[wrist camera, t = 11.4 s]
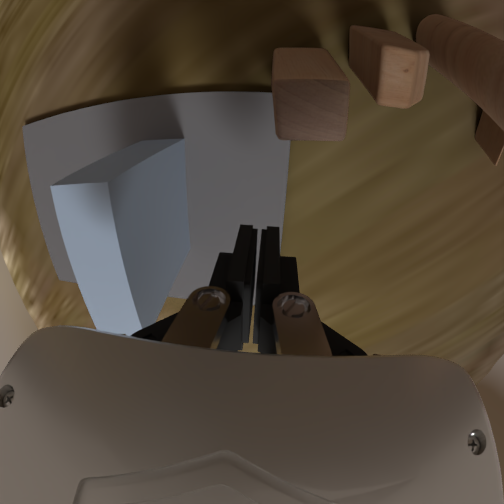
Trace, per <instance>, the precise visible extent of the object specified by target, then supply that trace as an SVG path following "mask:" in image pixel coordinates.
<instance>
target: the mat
mask: <svg viewBox="0 0 504 504" xmlns="http://www.w3.org/2000/svg"><path fill="white" fill-rule="evenodd" d="M23 137H24V146H25V153H26V160H27V167H28V172H29V178H30V183H31V188H32V193H33V197H34V201H35V206H36V210H37V214H38V217H39V221H40V225H41V228H42V232H43V235H44V238H45V241H46V245H47V248H48V251H49V254H50V257H51V259H52V262H53V265H54V268H55V270H56V273H57V276H58V278H59V280H63V281H68V282H74V283H77V280H76V277H75V275H74V272H73V269H72V266H71V263H70V260H69V257H68V254H67V251H66V247H65V244H64V241H63V237H62V234H61V230H60V226H59V222H58V219H57V214H56V210H55V206H54V202H53V197H52V192H51V187H50V186H51V185H53V184H54V183H56V182H58V181H60V180H61V179H63V178H65V177H67V176H69V175H70V174H72V173H74V172H76V171H78V170H80V169H82V168H84V167H86V166H88V165H90V164H92V163H94V162H96V161H98V160H100V159H102V158H104V157H106V156H108V155H110V154H112V153H115V152H117V151H119V150H121V149H124V148H126V147H128V146H131V145H133V144H135V143H138V142H140V141H144V140H161V139H185V168H186V190H187V208H188V223H189V236H190V250H189V252H188V254H187V256H186V258H185V260H184V262H183V265H182V267H181V269H180V271H179V273H178V275H177V277H176V279H175V281H174V283H173V285H172V287H171V289H170V292H169V294H168V296H167V297H176V298H184V299H187V298H188V297H189V295H190V294H191V293H192V292H193V291H194V290H196V289H198V288H201V287H205V286H209V283H210V280H211V277H212V274H213V271H214V267H215V264H216V261H217V258H218V255H219V253H220V252H226V253H233V251H234V247H235V243H236V239H237V235H238V231H239V228H240V224H243V225H253V228H254V229H258V235H257V255H256V274H255V288H254V297H253V305H255V296H256V281H257V271H258V261H259V251H260V241H261V231H262V229H267V226H274V227H279V230H280V250H281V240H282V230H283V220H284V210H285V199H286V188H287V176H288V164H289V152H290V140H280V139H278V137H277V135H276V133H275V120H274V108H273V96H272V93H266V92H195V93H179V94H168V95H158V96H149V97H142V98H134V99H128V100H122V101H116V102H111V103H105V104H100V105H96V106H91V107H87V108H82V109H78V110H74V111H70V112H67V113H63V114H59V115H56V116H52V117H49V118H46V119H43V120H40V121H37V122H34V123H31V124H28V125H25V126H23Z"/></svg>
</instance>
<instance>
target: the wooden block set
mask: <svg viewBox="0 0 504 504" xmlns="http://www.w3.org/2000/svg"><path fill="white" fill-rule="evenodd" d="M428 64H429V65H430V66H431V67H432V68H434V69H435V70H436V71H438V72H439V73H440V74H442V75H443V76H444V77H446V78H447V79H448V80H449V81H451V82H452V83H453V84H454V85H456V86H457V87H458V88H459V89H460V90H462V91H463V92H464V93H465V94H466V95H467V96H469V97H470V98H471V99H472V100H473V101H474V102H475V103H476V104H477V105H478V106H479V107H481V108H482V109H483V112H482V115H481V118H480V121H479V124H478V127H477V130H476V133H475V140H476V141H477V143H478V144H479V145H480V146H481V148H482V149H483V150H484V151H485V153H486V154H487V155H488V157H489V158H490V160H491V161H492V162H493V164H494V165H495V166H496V165H497V163H498V160H499V158H500V156H501V154H502V151H503V149H504V41H502V40H500V39H498V38H496V37H494V36H492V35H490V34H488V33H486V32H484V31H482V30H480V29H477V28H475V27H473V26H470V25H468V24H465V23H463V22H460V21H458V20H455V19H452V18H449V17H446V16H443V15H438V14H433V15H428V16H427V17H426V18H424V19H423V20H422V21H421V22H420V24H419V26H418V28H417V32H416V42H414V41H412V40H410V39H408V38H406V37H404V36H402V35H400V34H398V33H396V32H393V31H388V30H383V29H377V28H371V27H365V26H357V25H352V26H351V27H350V42H349V66H350V68H351V70H352V71H353V72H354V73H355V75H356V76H357V77H358V78H359V80H360V81H361V82H362V84H363V85H364V86H365V88H366V89H367V90H368V92H369V93H370V94H371V96H372V97H373V99H374V100H375V101H376V103H377V104H379V105H382V106H389V107H397V108H403V109H405V108H409V107H411V106H412V105H414V104H416V103H418V102H419V101H421V99H422V98H423V93H424V87H425V82H426V76H427V70H428ZM271 85H272V96H273V108H274V120H275V133H276V135H277V137H278V139H280V140H320V141H342V140H344V138H345V136H346V130H347V120H348V108H349V94H350V83H349V80H348V78H347V77H346V75H345V74H344V73H343V71H342V70H341V68H340V67H339V66H338V64H337V63H336V61H335V60H334V59H333V57H332V56H331V55H330V53H329V52H328V51H327V50H326V49H324V48H277V49H275V50H274V52H273V65H272V79H271Z"/></svg>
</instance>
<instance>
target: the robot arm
mask: <svg viewBox="0 0 504 504" xmlns="http://www.w3.org/2000/svg"><path fill="white" fill-rule="evenodd" d="M257 235H258V229H254V228H253V225H243V224H240V228H239V231H238V235H237V239H236V243H235V247H234V251H233V253H226V252H220V253H219V255H218V258H217V261H216V264H215V267H214V271H213V274H212V277H211V280H210V283H209V286H205V287H201V288H198V289H196V290H194V291H193V292H192V293H191V294H190V295H189V297H188V298H187V300H186V302H185V303H184V305H183V306H182V308H181V310H180V311H179V312H178V313H176V314H173V315H171V316H169V317H167V318H165V319H163V320H160V321H158V322H156V323H154V324H152V325H149V326H147V327H145V328H143V329H141V330H138V331H137V332H135V333H133V334H132V335H131V336H126V334H116V333H111V332H106V331H100V330H95V329H90V328H85V327H77V326H53V327H46V328H42V329H39V330H37V331H35V332H33V333H32V334H31V335H30V336H29V337H28V338H27V339H26V340H25V341H24V342H23V343H22V344H21V346H20V347H19V348H18V349H17V351H16V352H15V354H14V355H13V357H12V358H11V359H10V361H9V362H8V364H7V366H6V367H5V369H4V371H3V372H2V374H1V376H0V504H504V501H503V489H502V488H503V487H502V479H501V470H500V464H499V460H498V454H497V449H496V445H495V441H494V437H493V433H492V429H491V425H490V422H489V419H488V416H487V413H486V410H485V407H484V405H483V402H482V399H481V397H480V395H479V392H478V390H477V388H476V386H475V384H474V382H473V381H472V379H471V377H470V376H469V374H468V373H467V372H466V371H465V370H464V368H462V367H461V366H460V365H458V364H456V363H454V362H452V361H449V360H446V359H442V358H439V357H434V356H426V355H378V354H373V356H368V355H367V354H366V353H365V352H364V351H363V350H362V349H361V348H359V347H358V346H356V345H355V344H353V343H352V342H350V341H349V340H347V339H346V338H344V337H343V336H341V335H340V334H339V333H337V332H336V331H334V330H333V329H331V328H330V327H328V326H327V325H325V324H324V323H323V322H321V321H320V318H319V315H318V312H317V309H316V307H315V304H314V302H313V301H312V300H311V299H310V298H309V297H308V296H306V295H304V294H301V293H299V282H298V272H297V263H296V257H284V256H280V230H279V227H274V226H267V229H262V231H261V241H260V251H259V261H258V271H257V281H256V296H255V313H254V331H253V343H255V344H258V352H261V353H251V352H239V351H238V350H242V348H243V343H248V342H249V334H250V325H251V316H252V306H253V297H254V288H255V274H256V255H257Z"/></svg>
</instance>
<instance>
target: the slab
mask: <svg viewBox="0 0 504 504" xmlns="http://www.w3.org/2000/svg"><path fill="white" fill-rule="evenodd" d="M50 187H51V192H52V197H53V202H54V206H55V210H56V214H57V219H58V222H59V226H60V230H61V234H62V237H63V241H64V244H65V247H66V251H67V254H68V257H69V260H70V263H71V266H72V269H73V272H74V275H75V277H76V280H77V283H78V285H79V288H80V291H81V293H82V296H83V298H84V301H85V303H86V306H87V308H88V310H89V313H90V315H91V317H92V320H93V322H94V324H95V326H96V328H97V330H100V331H106V332H111V333H116V334H126V336H131V335H132V334H133V333H135V332H137V331H138V330H141V329H143V328H145V327H147V326H149V325H152V324H154V323H155V322H156V320H157V318H158V315H159V313H160V311H161V309H162V307H163V304H164V302H165V300H166V298H167V296H168V294H169V292H170V289H171V287H172V285H173V283H174V281H175V279H176V277H177V275H178V273H179V271H180V269H181V267H182V265H183V262H184V260H185V258H186V256H187V254H188V252H189V250H190V236H189V223H188V208H187V190H186V168H185V139H161V140H144V141H140V142H138V143H135V144H133V145H131V146H128V147H126V148H124V149H121V150H119V151H117V152H115V153H112V154H110V155H108V156H106V157H104V158H102V159H100V160H98V161H96V162H94V163H92V164H90V165H88V166H86V167H84V168H82V169H80V170H78V171H76V172H74V173H72V174H70V175H69V176H67V177H65V178H63V179H61V180H60V181H58V182H56V183H54V184H53V185H51V186H50Z"/></svg>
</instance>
